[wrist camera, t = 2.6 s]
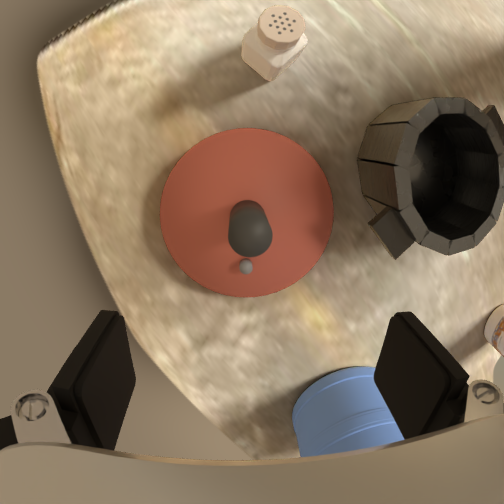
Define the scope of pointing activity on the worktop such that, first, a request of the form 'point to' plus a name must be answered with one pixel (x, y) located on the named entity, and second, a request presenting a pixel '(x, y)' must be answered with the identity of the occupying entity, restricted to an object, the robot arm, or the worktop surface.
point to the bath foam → (496, 329)
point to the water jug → (343, 414)
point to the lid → (246, 212)
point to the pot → (433, 174)
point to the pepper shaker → (274, 41)
